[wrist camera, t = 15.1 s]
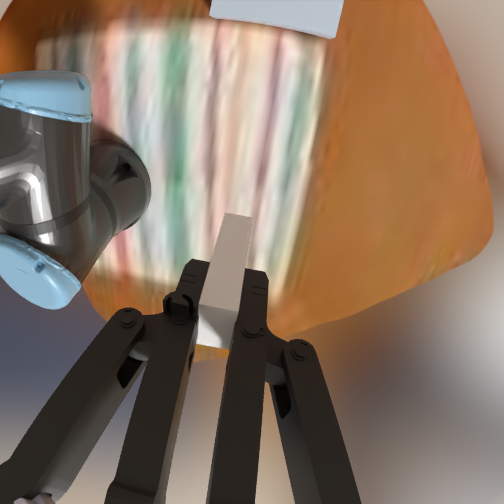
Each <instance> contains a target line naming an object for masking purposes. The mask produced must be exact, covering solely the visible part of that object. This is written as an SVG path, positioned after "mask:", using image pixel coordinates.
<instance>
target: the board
mask: <svg viewBox="0 0 504 504" xmlns="http://www.w3.org/2000/svg"><path fill="white" fill-rule="evenodd" d="M343 2H344V0H212V4H211V9H210V14H209V15H210V16H212V17H214V18H215V19H227V20H236V21H245V22H252V23H259V24H265V25H271V26H277V27H282V28H287V29H292V30H296V31H301V32H305V33H309V34H313V35H317V36H321V37H324V38H328V39H332V38H335V36H336V32H337V28H338V23H339V19H340V15H341V10H342V6H343Z"/></svg>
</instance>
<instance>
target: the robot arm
mask: <svg viewBox="0 0 504 504" xmlns="http://www.w3.org/2000/svg"><path fill="white" fill-rule="evenodd" d="M91 121H92V114H91V85H90V82H89V80H88V79H87V78H86V77H85V76H84V75H83V74H80V73H77V72H73V71H62V70H32V71H19V72H11V73H6V74H1V75H0V227H1V233H0V275H1V276H2V278H3V279H4V280H5V281H6V283H7V284H8V285H9V286H10V287H11V288H13V289H14V290H15V291H16V292H17V293H18V294H20V295H21V296H22V297H24V298H26V299H27V300H29V301H30V302H32V303H34V304H36V305H39V306H41V307H43V308H47V309H59V308H62V307H64V306H66V305H67V304H68V303H69V302H70V300H71V299H72V298H73V297H74V295H75V294H76V293H77V292H78V291H79V290H80V288H81V284H82V283H83V281H84V279H85V278H86V276H87V275H88V273H89V272H90V270H91V268H92V267H93V265H94V264H95V262H96V261H97V259H98V258H99V256H100V255H101V253H102V252H103V250H104V249H105V247H106V246H107V245H108V243H109V242H110V240H111V239H112V238H113V237H114V236H115V235H117V234H119V233H120V232H122V231H123V230H126V229H128V228H130V227H131V226H133V225H134V224H135V223H136V222H137V221H138V220H139V219H140V218H141V216H142V215H143V214H144V212H145V211H146V209H147V207H148V205H149V202H150V198H151V183H150V179H149V175H148V173H147V170H146V168H145V166H144V165H143V163H142V162H141V160H140V159H139V158H138V157H137V155H136V154H135V153H134V152H132V151H131V150H130V149H129V148H127V147H126V146H124V145H122V144H120V143H117V142H114V141H108V140H100V141H95V142H92V143H90V123H91ZM251 224H252V218H251V217H246V216H241V215H235V214H230V213H225V215H224V218H223V221H222V225H221V228H220V231H219V235H218V238H217V242H216V245H215V248H214V252H213V255H212V259H211V262H206V261H201V260H196V259H191V260H190V261H189V262H188V263H187V264H186V265H185V267H184V269H183V272H182V275H181V277H180V281H179V283H178V286H177V288H176V291H175V292H171V293H169V294H168V295H166V296H165V298H164V299H163V310H164V312H162V313H159V314H154V315H142V313H141V312H140V311H138V310H137V309H134V308H123V309H120V310H118V311H117V312H116V313H115V314H114V315H113V316H112V317H111V319H110V320H109V321H108V322H107V324H106V325H105V326H104V327H103V329H102V330H101V331H100V332H99V334H98V335H97V336H96V337H95V339H94V340H93V341H92V342H91V344H90V345H89V346H88V348H87V349H86V350H85V351H84V353H83V354H82V355H81V356H80V358H79V359H78V360H77V362H76V363H75V364H74V366H73V367H72V368H71V370H70V371H69V372H68V374H67V375H66V376H65V378H64V379H63V381H62V382H61V383H60V385H59V386H58V387H57V389H56V390H55V392H54V393H53V394H52V396H51V397H50V399H49V400H48V401H47V403H46V404H45V406H44V407H43V408H42V410H41V412H40V413H39V414H38V416H37V417H36V419H35V420H34V422H33V423H32V425H31V426H30V428H29V429H28V431H27V432H26V434H25V435H24V437H23V438H22V440H21V441H20V443H19V444H18V446H17V448H16V449H15V451H14V452H13V454H12V456H11V458H10V459H9V460H7V461H6V462H4V463H3V464H1V465H0V504H55V502H56V501H58V500H59V499H60V498H61V497H62V496H63V495H64V494H65V493H66V492H67V490H68V489H69V487H70V486H71V484H72V483H73V481H74V479H75V478H76V476H77V474H78V473H79V471H80V469H81V468H82V466H83V464H84V463H85V461H86V459H87V458H88V456H89V454H90V453H91V451H92V449H93V448H94V446H95V444H96V443H97V441H98V440H99V438H100V436H101V435H102V433H103V431H104V430H105V428H106V427H107V425H108V423H109V422H110V420H111V418H112V417H113V415H114V414H115V412H116V411H117V409H118V407H119V406H120V404H121V403H122V401H123V399H124V398H125V396H126V395H127V393H128V392H129V390H130V389H131V387H132V385H133V384H134V382H135V380H136V379H137V378H138V376H139V374H140V373H141V371H142V370H143V368H144V367H145V365H146V364H147V365H146V368H145V371H144V375H143V378H142V381H141V384H140V388H139V391H138V394H137V397H136V401H135V404H134V408H133V412H132V415H131V418H130V422H129V425H128V429H127V433H126V436H125V440H124V444H123V448H122V452H121V455H120V460H119V464H118V468H117V472H116V476H115V478H114V480H113V482H112V483H111V484H110V486H109V488H108V490H107V494H106V498H105V502H104V504H165V501H166V490H167V485H168V479H169V474H170V468H171V463H172V458H173V452H174V448H175V442H176V438H177V433H178V428H179V423H180V418H181V414H182V409H183V404H184V400H185V395H186V390H187V386H188V381H189V377H190V372H191V368H192V363H193V359H194V355H195V346H196V341H197V344H202V345H207V346H213V347H218V348H223V349H229V356H228V360H227V365H226V373H225V379H224V386H223V392H222V398H221V406H220V412H219V418H218V425H217V432H216V438H215V444H214V451H213V458H212V464H211V471H210V478H209V485H208V492H207V498H206V504H255V495H256V484H257V473H258V461H259V450H260V437H261V425H262V413H263V399H264V385H265V381H266V382H268V383H269V385H270V391H271V395H272V400H273V404H274V409H275V414H276V418H277V423H278V428H279V433H280V437H281V442H282V446H283V451H284V455H285V460H286V465H287V469H288V473H289V478H290V483H291V487H292V491H293V495H294V500H295V504H361V501H360V497H359V493H358V489H357V486H356V482H355V479H354V475H353V472H352V468H351V465H350V462H349V458H348V454H347V451H346V447H345V444H344V441H343V437H342V434H341V431H340V427H339V424H338V421H337V417H336V414H335V411H334V408H333V404H332V401H331V398H330V395H329V391H328V388H327V385H326V382H325V379H324V376H323V373H322V370H321V366H320V363H319V360H318V357H317V354H316V351H315V349H314V347H313V346H312V345H311V344H310V343H309V342H307V341H305V340H302V339H294V340H291V341H289V342H286V341H284V340H282V339H280V338H278V337H276V336H275V335H273V334H272V333H271V332H270V330H269V329H268V327H267V322H266V318H267V302H268V284H269V280H268V278H267V275H266V273H265V272H263V271H258V270H252V269H247V268H245V264H246V258H247V251H248V244H249V237H250V231H251Z"/></svg>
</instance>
